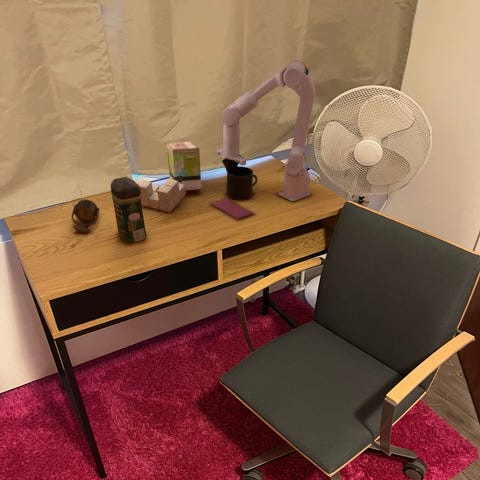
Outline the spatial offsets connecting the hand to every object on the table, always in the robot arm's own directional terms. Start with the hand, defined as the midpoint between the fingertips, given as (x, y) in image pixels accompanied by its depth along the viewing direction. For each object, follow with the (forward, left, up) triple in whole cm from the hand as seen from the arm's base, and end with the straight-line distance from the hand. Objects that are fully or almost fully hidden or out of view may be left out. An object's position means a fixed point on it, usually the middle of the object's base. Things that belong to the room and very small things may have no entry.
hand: (230, 178), depth 178 cm
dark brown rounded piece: (+56, -8, -4) cm, 57 cm away
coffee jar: (+48, +9, -4) cm, 49 cm away
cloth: (+11, +14, -4) cm, 18 cm away
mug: (0, +7, -4) cm, 8 cm away
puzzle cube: (+27, -6, -3) cm, 27 cm away
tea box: (+14, -10, -3) cm, 17 cm away
